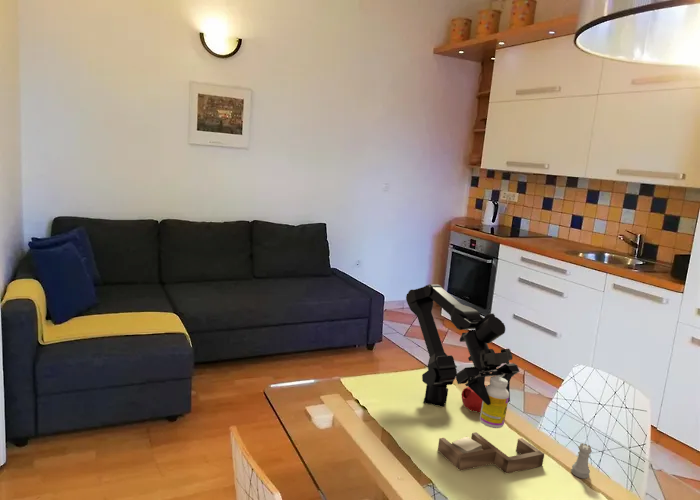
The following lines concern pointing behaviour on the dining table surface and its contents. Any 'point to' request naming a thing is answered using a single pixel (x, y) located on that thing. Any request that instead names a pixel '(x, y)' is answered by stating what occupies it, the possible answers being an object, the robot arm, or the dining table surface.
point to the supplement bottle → (495, 403)
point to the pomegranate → (471, 400)
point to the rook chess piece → (582, 462)
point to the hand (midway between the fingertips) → (498, 403)
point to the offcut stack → (467, 445)
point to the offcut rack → (492, 456)
